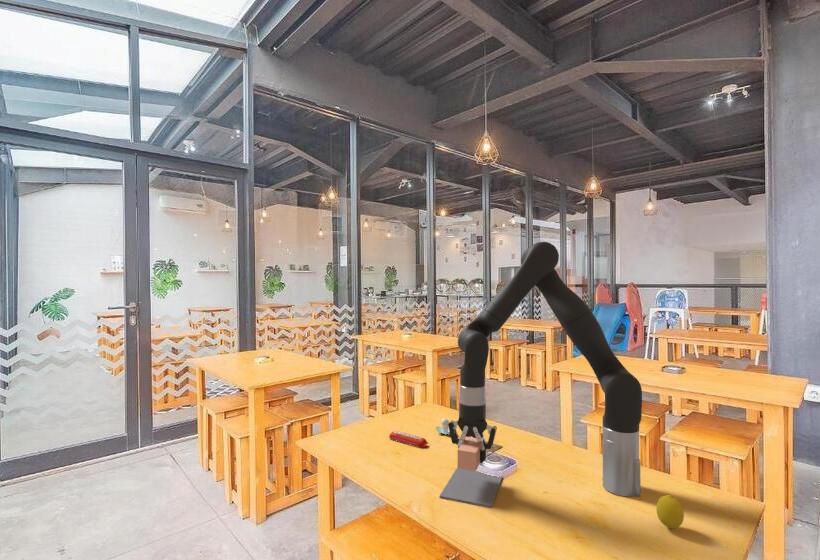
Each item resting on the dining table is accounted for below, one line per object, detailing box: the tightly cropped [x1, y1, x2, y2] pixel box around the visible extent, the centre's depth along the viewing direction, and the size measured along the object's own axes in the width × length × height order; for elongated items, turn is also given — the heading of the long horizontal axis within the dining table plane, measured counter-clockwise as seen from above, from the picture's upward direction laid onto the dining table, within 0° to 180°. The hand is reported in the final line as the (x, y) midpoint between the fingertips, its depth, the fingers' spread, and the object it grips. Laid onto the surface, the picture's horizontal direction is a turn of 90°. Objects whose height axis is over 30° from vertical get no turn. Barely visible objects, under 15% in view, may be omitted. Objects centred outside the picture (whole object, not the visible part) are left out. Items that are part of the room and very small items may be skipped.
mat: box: [438, 467, 503, 508], centre depth 121 cm, size 14×18×1 cm
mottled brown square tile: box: [485, 440, 504, 453], centre depth 150 cm, size 12×12×1 cm
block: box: [456, 436, 486, 471], centre depth 121 cm, size 5×5×12 cm
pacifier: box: [435, 417, 450, 435], centre depth 163 cm, size 7×6×6 cm
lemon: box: [655, 494, 685, 530], centre depth 101 cm, size 6×6×8 cm
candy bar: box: [388, 430, 429, 448], centre depth 154 cm, size 16×4×3 cm, turn 54°
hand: (471, 460), depth 121 cm, fingers closed on block, 5 cm apart
